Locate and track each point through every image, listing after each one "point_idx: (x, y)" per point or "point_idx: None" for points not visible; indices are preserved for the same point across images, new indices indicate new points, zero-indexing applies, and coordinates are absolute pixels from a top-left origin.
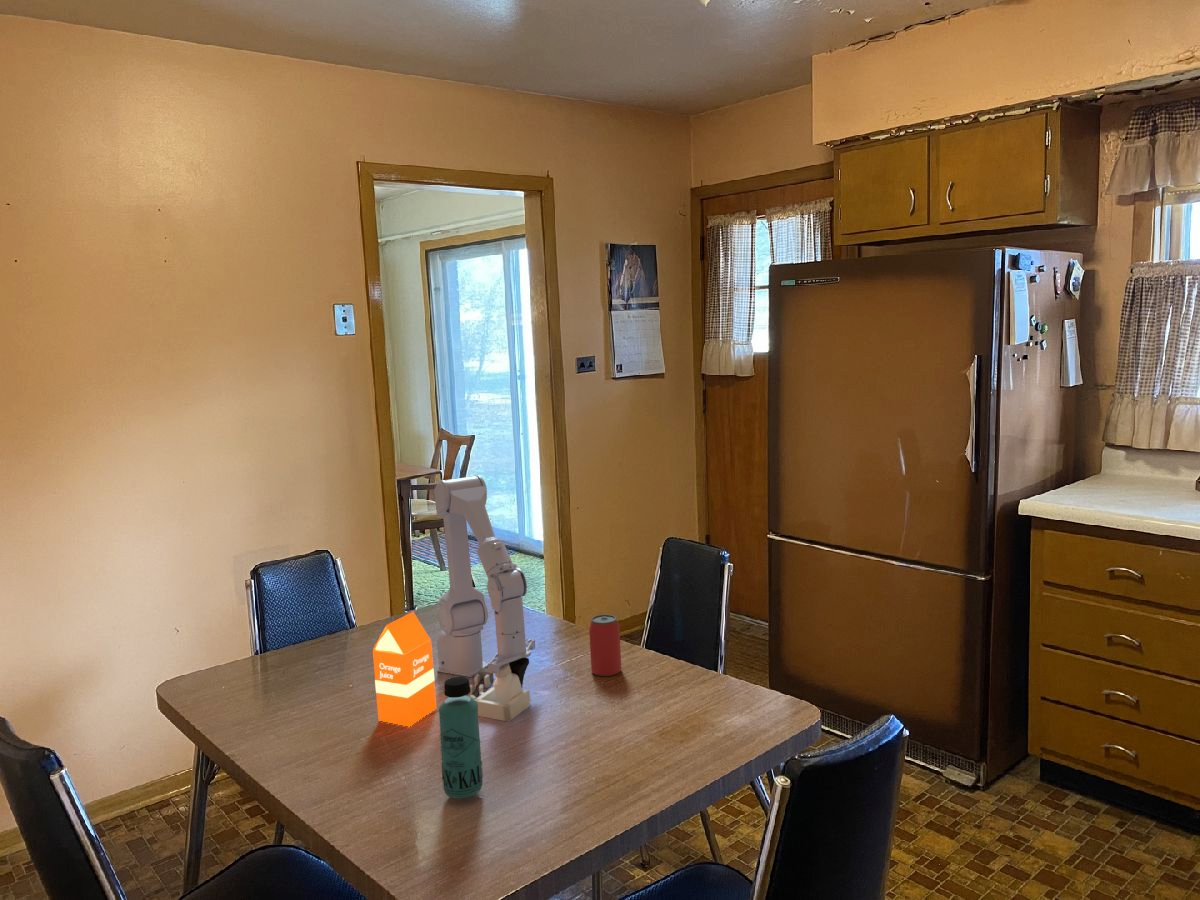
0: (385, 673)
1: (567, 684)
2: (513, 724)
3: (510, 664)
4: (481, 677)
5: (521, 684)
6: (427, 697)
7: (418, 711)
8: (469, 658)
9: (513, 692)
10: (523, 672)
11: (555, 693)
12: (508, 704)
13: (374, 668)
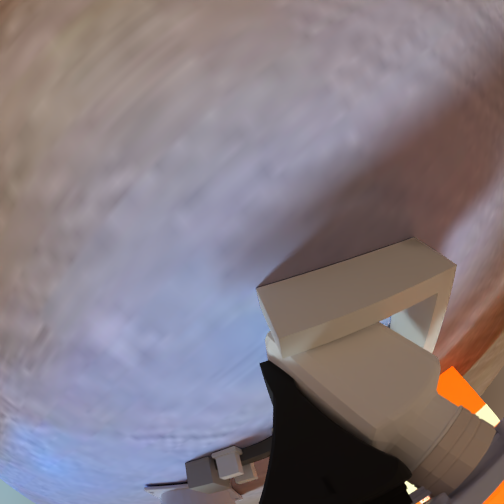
0: None
1: (4, 314)
2: (422, 204)
3: (406, 492)
4: None
5: (287, 397)
6: None
7: (441, 394)
8: None
9: (390, 344)
10: (298, 456)
11: (79, 293)
12: (441, 280)
13: None
